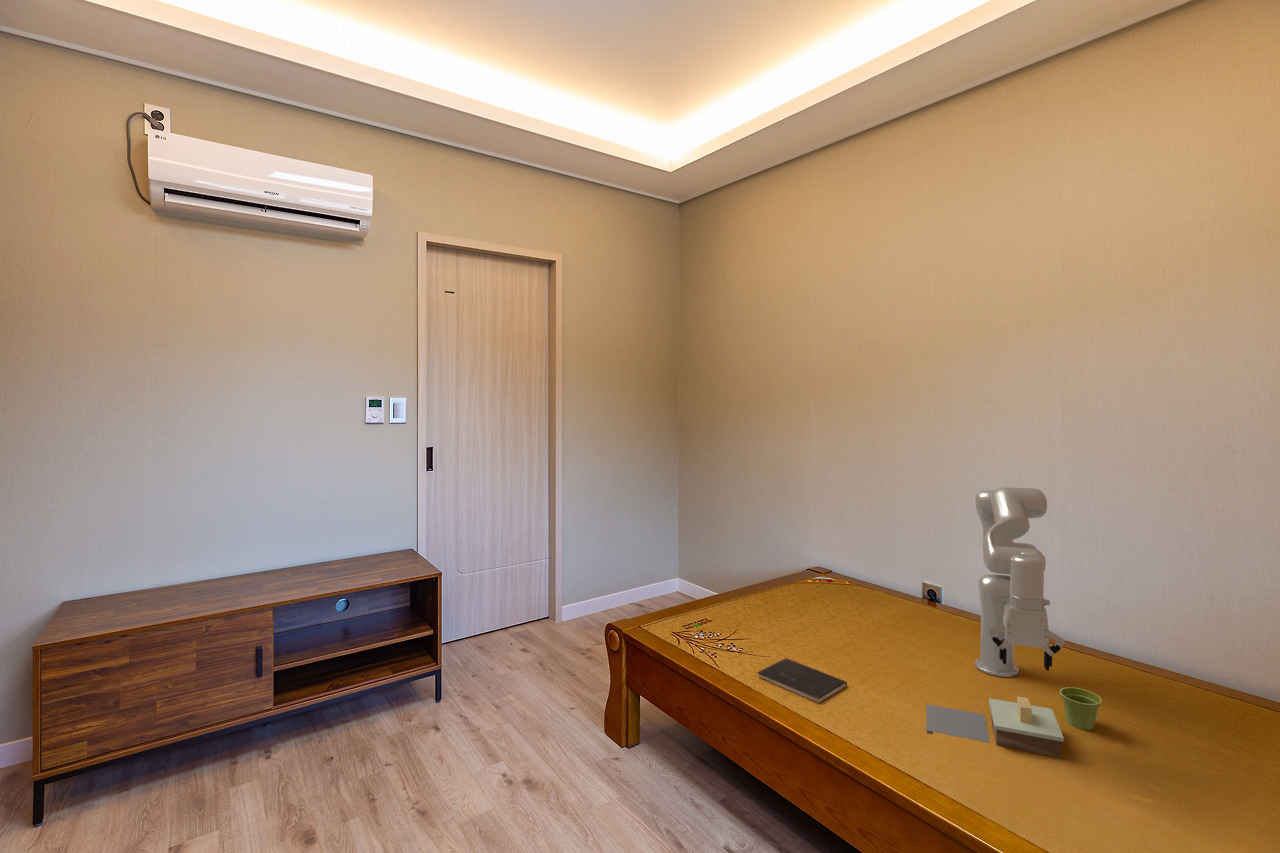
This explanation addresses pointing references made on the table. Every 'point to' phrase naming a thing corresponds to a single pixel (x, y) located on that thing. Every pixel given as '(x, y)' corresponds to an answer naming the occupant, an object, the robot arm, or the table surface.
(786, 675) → the hardcover book
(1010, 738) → the walnut box
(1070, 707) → the plant pot
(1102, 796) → the table surface
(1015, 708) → the lid
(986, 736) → the felt mat
